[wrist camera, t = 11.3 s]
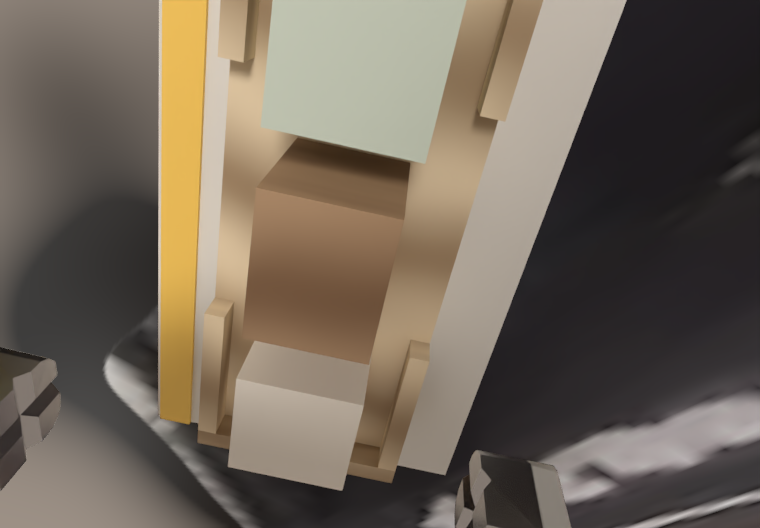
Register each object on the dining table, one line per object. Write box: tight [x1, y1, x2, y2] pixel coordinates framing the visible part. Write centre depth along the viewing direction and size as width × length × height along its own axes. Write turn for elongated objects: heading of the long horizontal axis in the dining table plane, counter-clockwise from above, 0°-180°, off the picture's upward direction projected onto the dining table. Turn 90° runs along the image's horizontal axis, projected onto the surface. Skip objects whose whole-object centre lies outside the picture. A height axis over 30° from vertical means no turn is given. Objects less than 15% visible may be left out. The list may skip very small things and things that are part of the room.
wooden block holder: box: [197, 0, 543, 483], centre depth 19 cm, size 24×9×8 cm, turn 168°
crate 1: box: [261, 0, 467, 164], centre depth 15 cm, size 4×4×4 cm
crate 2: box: [228, 341, 372, 491], centre depth 21 cm, size 4×4×4 cm
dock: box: [158, 0, 627, 475], centre depth 24 cm, size 30×16×4 cm, turn 168°
